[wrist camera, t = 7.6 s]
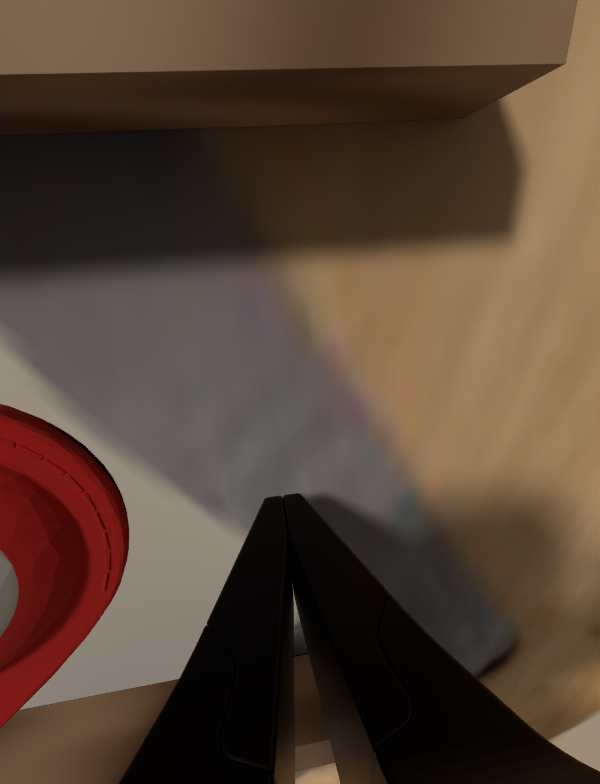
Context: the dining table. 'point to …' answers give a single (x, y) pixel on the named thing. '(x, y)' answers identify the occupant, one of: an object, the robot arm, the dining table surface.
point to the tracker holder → (52, 551)
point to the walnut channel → (240, 109)
